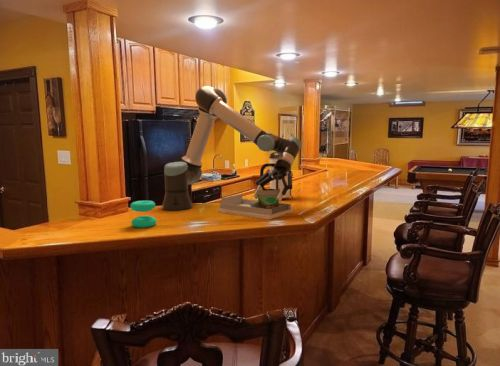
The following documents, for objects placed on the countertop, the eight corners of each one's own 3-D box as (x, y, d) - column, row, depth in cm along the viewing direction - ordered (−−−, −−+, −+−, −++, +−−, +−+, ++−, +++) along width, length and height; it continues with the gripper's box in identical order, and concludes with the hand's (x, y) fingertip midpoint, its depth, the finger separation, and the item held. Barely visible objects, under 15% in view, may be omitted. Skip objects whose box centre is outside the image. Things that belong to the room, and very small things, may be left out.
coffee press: (272, 196, 224) (271, 146, 220) (297, 198, 217) (297, 146, 213) (259, 201, 209) (259, 147, 205) (286, 202, 202) (286, 147, 198)
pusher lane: (218, 211, 180) (217, 198, 179) (243, 205, 196) (243, 193, 195) (268, 219, 162) (268, 204, 161) (292, 211, 177) (292, 198, 176)
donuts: (159, 202, 152) (135, 205, 146) (160, 225, 154) (137, 229, 147) (149, 199, 160) (126, 201, 154) (150, 221, 161) (127, 225, 155)
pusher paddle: (242, 209, 174) (242, 202, 174) (259, 205, 185) (259, 198, 185) (253, 211, 171) (253, 203, 170) (269, 206, 181) (269, 199, 181)
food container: (262, 213, 168) (261, 191, 166) (256, 211, 173) (256, 189, 172) (285, 210, 173) (285, 189, 171) (279, 208, 178) (279, 188, 177)
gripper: (309, 169, 175) (292, 206, 165) (266, 167, 190) (249, 200, 181) (303, 159, 171) (286, 196, 161) (260, 158, 186) (242, 191, 176)
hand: (266, 198), depth 171 cm, fingers open, 13 cm apart
